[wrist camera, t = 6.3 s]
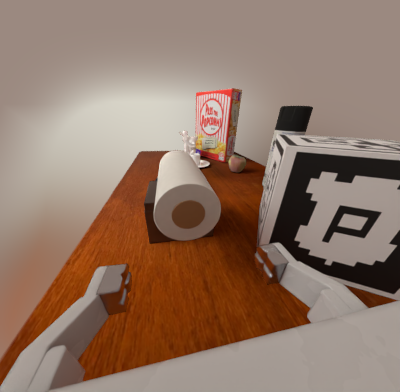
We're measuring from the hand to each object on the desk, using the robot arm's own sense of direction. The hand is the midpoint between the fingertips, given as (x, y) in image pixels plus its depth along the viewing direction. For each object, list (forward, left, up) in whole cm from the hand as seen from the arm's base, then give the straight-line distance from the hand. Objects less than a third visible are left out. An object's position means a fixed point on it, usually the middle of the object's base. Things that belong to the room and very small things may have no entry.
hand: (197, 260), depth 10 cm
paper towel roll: (0, +13, 0) cm, 13 cm away
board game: (+20, +66, -9) cm, 69 cm away
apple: (+22, +44, -9) cm, 50 cm away
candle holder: (+9, +54, -9) cm, 55 cm away
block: (+20, +9, -9) cm, 24 cm away
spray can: (+28, +29, -9) cm, 41 cm away
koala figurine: (+8, +65, -9) cm, 66 cm away
